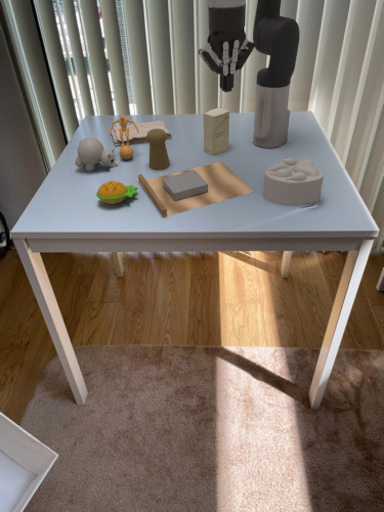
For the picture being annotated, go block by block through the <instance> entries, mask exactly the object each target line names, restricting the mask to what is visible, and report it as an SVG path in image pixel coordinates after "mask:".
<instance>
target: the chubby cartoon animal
mask: <svg viewBox="0 0 384 512" xmlns="http://www.w3.org/2000/svg"><path fill="white" fill-rule="evenodd" d="M76 151H77V157H75V161H74V165H75V166H76V167H77V168H83V167H85V170H86V171H88V172H94V171H95V169H96V166H98V165H99V163H101V164H102V165H103V166H107V167H109V168H110V169H112V168H116V167H119V165H120V164H121V163H120V162H121V160H120V159H118V160H117V159H116V156H115V154H114V152H115V148H112V149H110V150H109V149H107V150H106V149H105V147H104V144H103V143H102V142H101V141H100V140H99V139H98V138H95V137H85V138H83V139H82V140H80V141H79V142H78V146H77V150H76Z"/></svg>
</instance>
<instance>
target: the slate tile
mask: <svg viewBox="0 0 384 512" xmlns="http://www.w3.org/2000/svg"><path fill="white" fill-rule="evenodd" d="M162 182H163V186H164V188H165V189H166V190H167V191H168V193H169V194H170V195H171V197H172V198H173V199H174V201H175V200H178V199H182V198H186V197H189V196H193V195H197V194H200V193H204V192H208V184H207V183H206V182H205V181H204V179H203V178H202V177H201V176H200V175H199V174H198V173H197V172H196V171H195V170H194V171H190V172H186V173H182V174H178V175H174V176H170V177H166V178H162Z"/></svg>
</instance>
